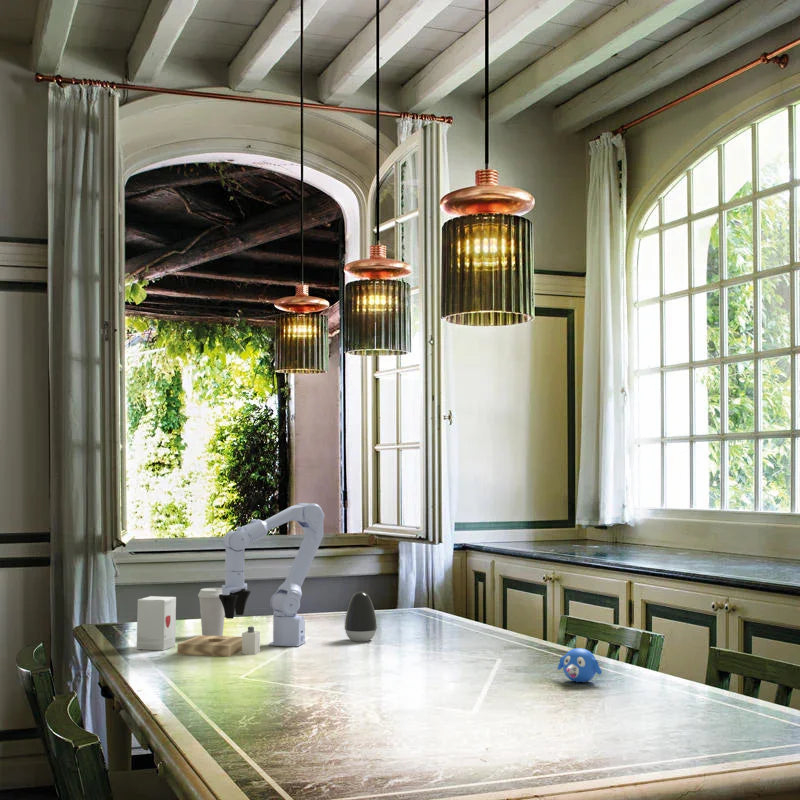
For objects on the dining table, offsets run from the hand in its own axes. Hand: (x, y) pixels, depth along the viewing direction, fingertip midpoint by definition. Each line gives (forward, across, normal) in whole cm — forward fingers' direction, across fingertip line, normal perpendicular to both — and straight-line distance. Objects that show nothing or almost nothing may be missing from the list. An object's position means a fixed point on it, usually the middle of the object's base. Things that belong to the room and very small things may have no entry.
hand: (234, 616), depth 311 cm
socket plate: (+10, +4, -5) cm, 11 cm away
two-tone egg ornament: (+10, -24, +33) cm, 42 cm away
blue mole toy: (+10, +27, +104) cm, 107 cm away
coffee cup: (+10, -21, -16) cm, 28 cm away
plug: (+10, +5, +7) cm, 13 cm away
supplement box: (+10, +4, -24) cm, 26 cm away
